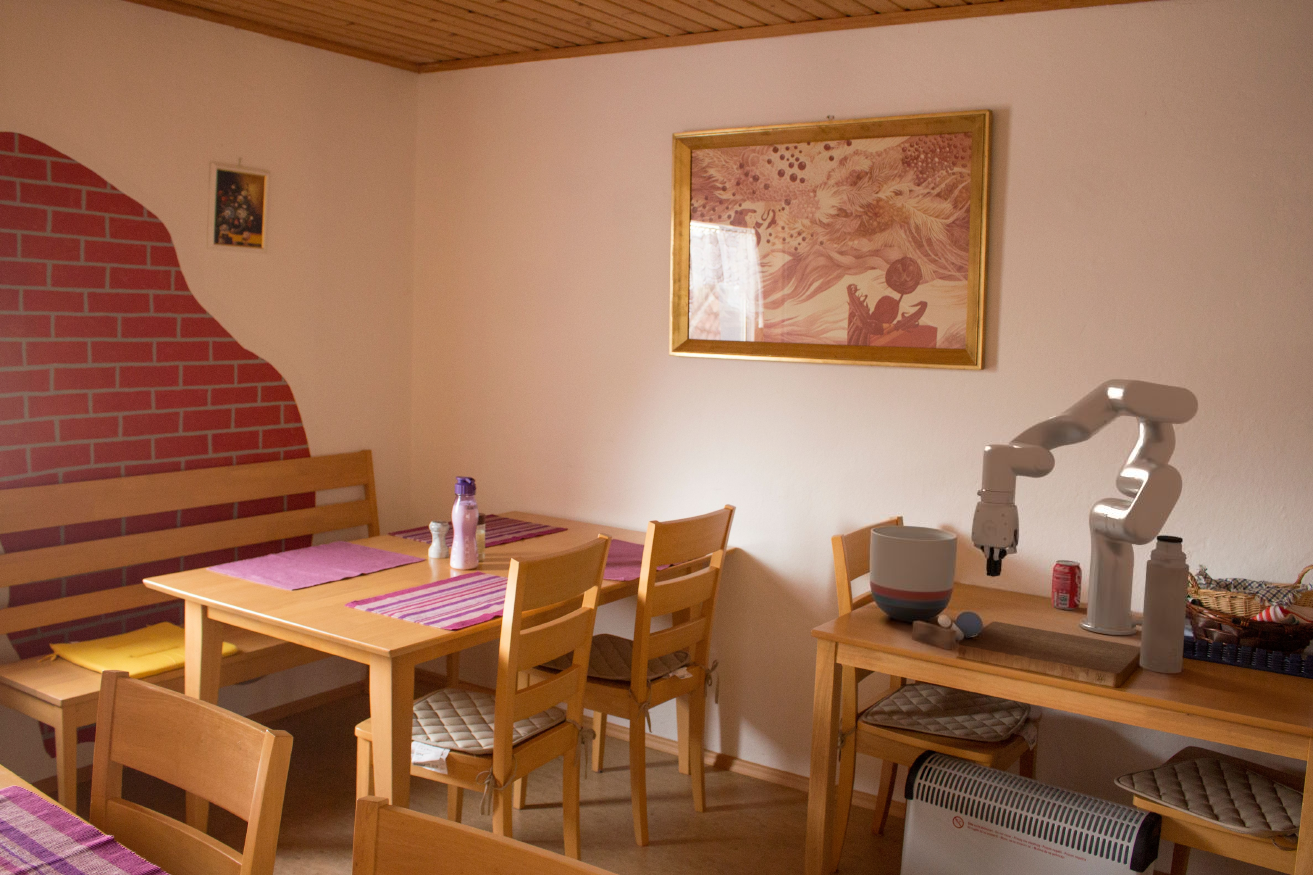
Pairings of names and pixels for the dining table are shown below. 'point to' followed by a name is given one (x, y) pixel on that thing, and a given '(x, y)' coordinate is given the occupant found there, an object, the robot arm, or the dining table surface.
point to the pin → (950, 626)
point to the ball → (969, 623)
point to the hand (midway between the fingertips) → (993, 575)
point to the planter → (912, 571)
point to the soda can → (1066, 585)
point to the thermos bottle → (1164, 607)
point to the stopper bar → (934, 635)
